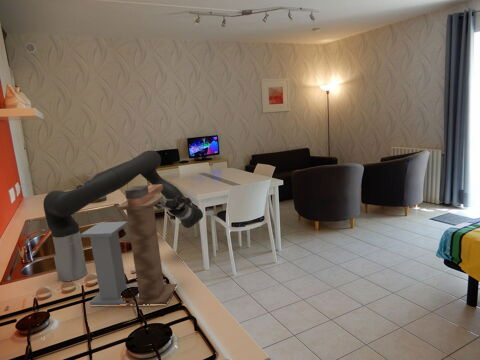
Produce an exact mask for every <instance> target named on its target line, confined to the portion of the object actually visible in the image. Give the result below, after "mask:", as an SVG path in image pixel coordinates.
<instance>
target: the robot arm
mask: <svg viewBox="0 0 480 360" xmlns="http://www.w3.org/2000/svg"><path fill="white" fill-rule="evenodd" d="M161 162H162V157H161V155H160V154H159V153H158V152H157V151H154V150H146V151H144V152H142V153H140V154H138V155H137V156H135V157H133V158H131V159H130V160H128V161H124V162H122V163H119V164H117V165H115V166H113V167H111V168H108V169H105V170H103V171H101V172H99V173H97V174H96V175H94V176H93V177H92V178H91V179H90V180H88V181H89V182H88V183H87V184H85V183H84V184H83V185H82V186H81V187H78V188H77V187H76V188H74V189H71V190H67V191H65V190H52V191H50V192H48V193H47V194H46V195H45V197H44V199H43V211H44V217H45V219H46V223H47V226H48V227H47V228H48V229H49V230H50V233H51V236H52V241H53V246H54V250H55V251H54V252H55V255H54V256H53V259H54V263H55V269H56V270H55V271H56V273H57V280H59V281H63V282H69V281H68V280H72V281H77V280H79V279H82V278H83V277H85V276H87V274H88V270H87V264H86V259H85V252H84V248H83V243H82V237H81V235H80V234H81V231H80V230H81V229H80V225H79V223H78V222H77V221H76V220H75V218H74V216H73V215H74V214H77V212H79V211H81V210H82V209H83V208H85V207H87V206H88V205H90V204H92V203H91V202H93V201H95V200H98V199H100V198H102V197H104V196H106V197H107V196H108V195H109V194H112V193H114V192H116V191H118V190H120V189H122V188H124V187H125V186H126V185H128V184H129V183H130V182H132V180H134V179H135V178H136V177H138V176H139V175H141V176H142V177H143V178H144V179H145V180H146V181H147V182H149V183H150V185H157V184H163V190H162V191H161V192H160V194H161V195H162V196H163V199H162V200H161V201H160V202H158V203H157V204H156V205H154V208H156V209H158V210H162V209H167V210H168V212H169V214H170V215H172V216H174V217H175V218H176V219H179V221H180V223H181V225H182V226H183V227H184V228H186V229H190V228H192V227H194V226H195V225H196V224H197V223H198V222H200V221H201V220H202V219H203V217H204V213H203V211H202V209H200V208H199V207H197V205H195V204H194V203H193V201H192V199H191V198H190V197H186V196H185V195H184V194H183V193H182V191H181V190H180V189H179V188H178V187H177V186H176V185H174V184H172V183H171V182H169V181H167V180H166V179H164V178H163V177H161V175H160V174H159V173H158V172H157V169H158V168H160V165H161Z"/></svg>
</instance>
